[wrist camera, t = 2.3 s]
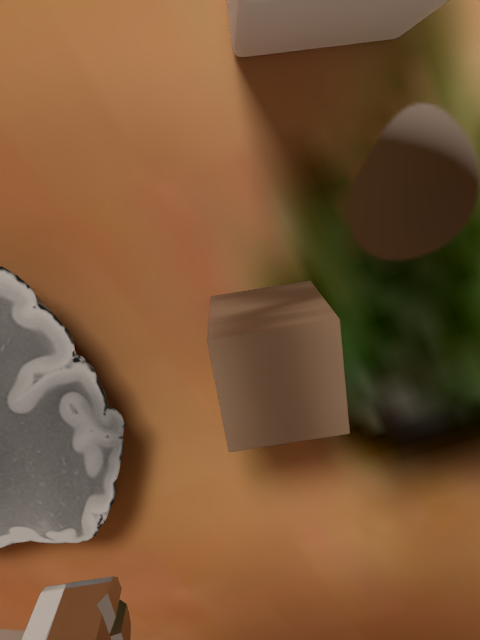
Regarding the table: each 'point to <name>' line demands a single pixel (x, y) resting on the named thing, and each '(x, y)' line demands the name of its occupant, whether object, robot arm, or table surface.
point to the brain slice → (51, 428)
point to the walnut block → (277, 366)
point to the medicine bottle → (319, 23)
